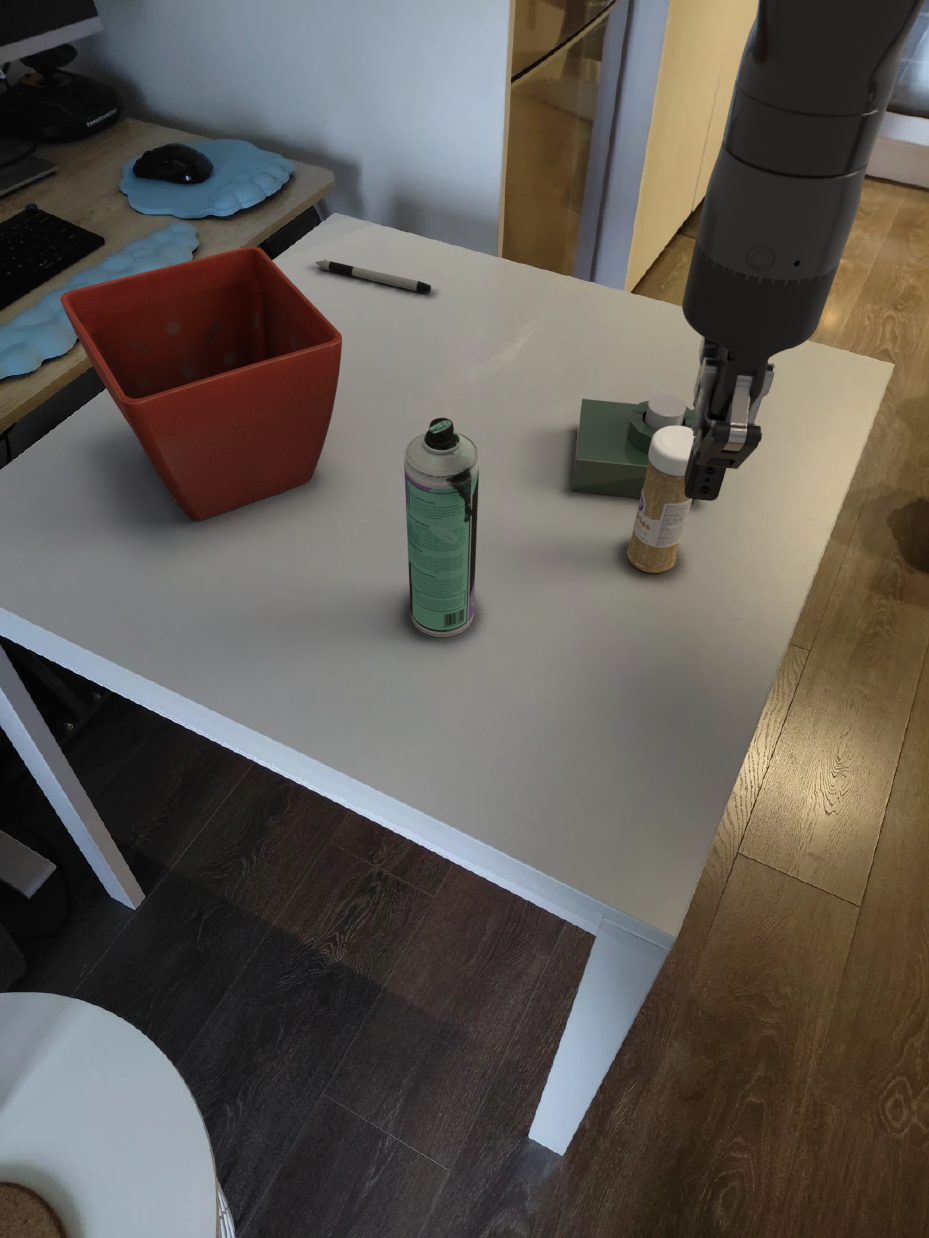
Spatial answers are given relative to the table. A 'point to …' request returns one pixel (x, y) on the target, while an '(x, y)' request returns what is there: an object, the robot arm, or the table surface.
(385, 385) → the table surface
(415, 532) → the spray can
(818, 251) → the robot arm
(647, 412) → the grey short cylinder
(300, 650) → the table surface
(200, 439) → the flower pot
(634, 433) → the push button box
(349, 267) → the pen
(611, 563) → the table surface
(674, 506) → the sprinkles bottle
